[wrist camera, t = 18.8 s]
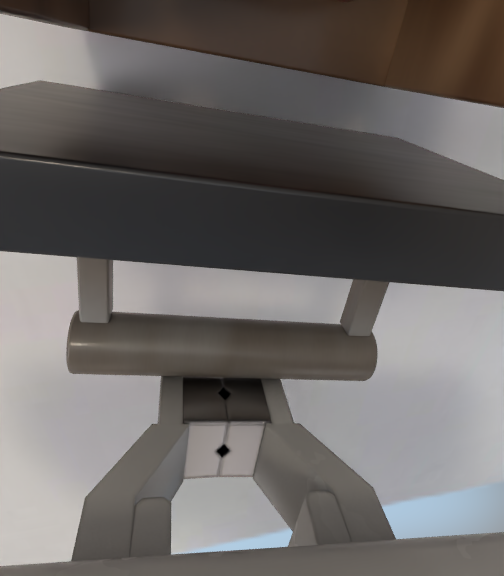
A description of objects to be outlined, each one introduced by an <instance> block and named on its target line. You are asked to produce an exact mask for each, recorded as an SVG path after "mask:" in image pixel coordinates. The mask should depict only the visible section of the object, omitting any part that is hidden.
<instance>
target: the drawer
mask: <svg viewBox="0 0 504 576" xmlns="http://www.w3.org/2000/svg"><path fill="white" fill-rule="evenodd" d="M0 14H5V15H10V16H15V17H19V18H24V19H29V20H34V21H39V22H43V23H48V24H53V25H58V26H63V27H68V28H73V29H79V30H84V31H89V32H95V33H100V34H105V35H111V36H116V37H121V38H126V39H132V40H137V41H142V42H148V43H153V44H158V45H164V46H169V47H174V48H180V49H185V50H190V51H196V52H201V53H206V54H212V55H217V56H222V57H228V58H233V59H238V60H244V61H249V62H254V63H260V64H265V65H270V66H276V67H281V68H286V69H292V70H297V71H302V72H308V73H313V74H318V75H324V76H329V77H334V78H340V79H345V80H350V81H356V82H361V83H366V84H372V85H377V86H382V87H388V88H393V89H398V90H404V91H410V92H416V93H421V94H427V95H433V96H438V97H444V98H450V99H455V100H461V101H467V102H472V103H478V104H484V105H489V106H495V107H501V108H504V0H353V1H349V2H346V3H345V2H341V1H336V0H0ZM0 251H7V252H20V253H32V254H45V255H57V256H70V257H77V271H78V295H79V310H78V311H76V312H75V313H74V315H73V317H72V320H71V323H70V327H69V332H68V339H67V352H66V356H67V366H68V370H69V372H70V373H72V374H99V375H139V376H180V377H221V378H261V379H302V380H343V381H365V380H368V379H369V378H370V377H371V376H372V375H373V373H374V371H375V368H376V363H377V345H376V340H375V337H374V335H373V333H372V328H373V326H374V323H375V320H376V317H377V315H378V312H379V309H380V306H381V304H382V301H383V298H384V295H385V293H386V290H387V287H388V284H389V282H395V283H408V284H420V285H433V286H445V287H458V288H470V289H483V290H495V291H504V180H502V179H499V178H497V177H494V176H492V175H489V174H487V173H484V172H482V171H479V170H477V169H474V168H472V167H469V166H467V165H464V164H462V163H459V162H457V161H454V160H452V159H449V158H447V157H444V156H442V155H439V154H437V153H434V152H432V151H429V150H427V149H424V148H422V147H419V146H417V145H414V144H412V143H409V142H407V141H404V140H402V139H399V138H395V137H389V136H383V135H377V134H370V133H364V132H358V131H352V130H346V129H339V128H333V127H327V126H321V125H314V124H308V123H302V122H296V121H290V120H283V119H277V118H271V117H265V116H258V115H252V114H246V113H240V112H233V111H227V110H221V109H215V108H209V107H202V106H196V105H190V104H184V103H177V102H171V101H165V100H159V99H153V98H146V97H140V96H134V95H128V94H121V93H115V92H109V91H103V90H96V89H90V88H84V87H78V86H72V85H65V84H59V83H53V82H47V81H35V82H30V83H26V84H21V85H16V86H11V87H6V88H2V89H0ZM113 260H120V261H132V262H145V263H157V264H170V265H182V266H195V267H207V268H220V269H232V270H245V271H257V272H270V273H283V274H295V275H308V276H320V277H333V278H345V279H353V282H352V285H351V288H350V292H349V295H348V298H347V301H346V304H345V307H344V311H343V314H342V317H341V320H340V323H341V324H325V323H307V322H289V321H270V320H252V319H234V318H216V317H197V316H179V315H161V314H143V313H125V312H112V310H113Z"/></svg>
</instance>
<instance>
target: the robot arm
mask: <svg viewBox="0 0 504 576" xmlns="http://www.w3.org/2000/svg"><path fill="white" fill-rule="evenodd" d="M218 476H219V477H253V479H254V481H255V482H256V483H257V485H258V486H259V487H260V489H261V490H262V491H263V493H264V494H265V495H266V497H267V498H268V499H269V501H270V502H271V503H272V505H273V506H274V507H275V509H276V510H277V511H278V513H279V514H280V515H281V517H282V518H283V519H284V521H285V522H286V523H287V525H288V526H289V527H290V528H291V530H292V531H293V534H292V536H291V539H290V542H289V545H288V547H280V548H265V549H249V550H234V551H219V552H204V553H189V554H174V555H171V501H172V499H173V497H174V496H175V494H176V492H177V491H178V489H179V487H180V486H181V484H182V482H183V479H191V478H208V477H218ZM0 576H504V532H499V533H485V534H470V535H454V536H439V537H425V538H410V539H396V538H395V536H394V534H393V531H392V529H391V527H390V525H389V522H388V520H387V518H386V516H385V513H384V511H383V509H382V506H381V504H380V502H379V500H378V497H377V495H376V493H375V491H374V488H373V487H372V486H371V485H370V484H368V483H367V482H366V481H365V480H364V479H363V478H362V477H360V476H359V475H358V474H357V473H356V472H355V471H354V470H352V469H351V468H350V467H349V466H348V465H347V464H346V463H344V462H343V461H342V460H341V459H340V458H339V457H337V456H336V455H335V454H334V453H333V452H332V451H331V450H329V449H328V448H327V447H326V446H325V445H324V444H323V443H321V442H320V441H319V440H318V439H317V438H316V437H315V436H313V435H312V434H311V433H310V432H309V431H308V430H307V429H305V428H304V427H303V426H302V425H301V424H299V423H294V422H293V418H292V415H291V412H290V409H289V406H288V402H287V399H286V396H285V393H284V390H283V386H282V383H281V380H280V379H261V378H221V377H180V376H161V385H160V399H159V413H158V424H152V425H151V426H150V427H149V428H148V429H147V430H146V431H145V432H144V433H143V434H142V436H141V437H140V438H139V439H138V440H137V441H136V442H135V443H134V444H133V446H132V447H131V448H130V449H129V450H128V451H127V452H126V453H125V454H124V455H123V457H122V458H121V459H120V460H119V461H118V462H117V463H116V464H115V465H114V467H113V468H112V469H111V470H110V471H109V472H108V473H107V474H106V475H105V476H104V478H103V479H102V480H101V481H100V482H99V483H98V484H97V485H96V486H95V488H94V489H93V490H92V491H91V492H90V493H89V494H88V495H87V496H86V497H85V501H84V505H83V510H82V515H81V519H80V524H79V528H78V533H77V537H76V542H75V546H74V551H73V555H72V560H71V561H70V562H55V563H40V564H25V565H11V566H0Z"/></svg>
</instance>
